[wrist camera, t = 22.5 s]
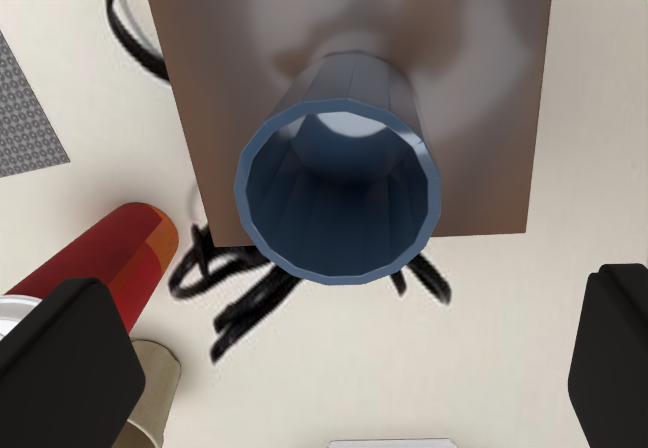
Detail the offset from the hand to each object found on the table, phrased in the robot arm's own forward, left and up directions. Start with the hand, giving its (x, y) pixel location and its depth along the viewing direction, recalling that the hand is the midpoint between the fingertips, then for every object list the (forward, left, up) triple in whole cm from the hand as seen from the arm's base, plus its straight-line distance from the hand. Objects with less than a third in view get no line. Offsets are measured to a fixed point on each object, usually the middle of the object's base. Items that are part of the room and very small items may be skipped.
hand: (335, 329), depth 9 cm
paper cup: (+18, +10, -23) cm, 31 cm away
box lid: (0, 0, -15) cm, 15 cm away
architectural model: (+30, -1, -23) cm, 38 cm away
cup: (0, 0, -14) cm, 14 cm away
